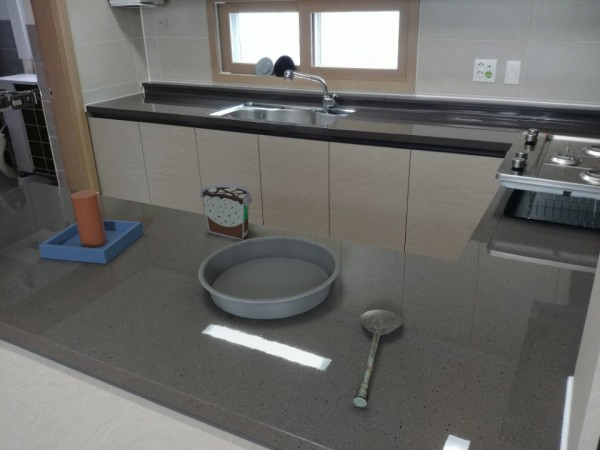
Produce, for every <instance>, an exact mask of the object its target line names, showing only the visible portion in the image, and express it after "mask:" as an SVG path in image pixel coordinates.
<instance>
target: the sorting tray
mask: <svg viewBox="0 0 600 450" xmlns="http://www.w3.org/2000/svg"><path fill="white" fill-rule="evenodd" d="M103 222H104V227H105V232H106V237H107V242H106V243H105V244H104V245H102V246H99V247H95V248H85V247H82V246H81V242H80V237H79V233H78V228H77V223H76V221H75V222H73V223H72V224H70V225H69V226H67V227H66V228H63V230H61V231H59V232H58V233H56V234H55V235H53V236H51V237H49V238H48V239H47V240H45V241H43V242H42V243H40V244H39V245H38V250H39V253H40V256H41V257H40V258H41V259H48V260H49V259H50V260H59V261H60V260H61V261H71V262H80V263H81V262H82V263H94V264H101V265H102V264H103V265H104V264H105V265H106V264H108V263H109V262H111V260H113V259H114V258H116V257H117V255H119V254H120V253H121V252H123V251H124V250H125V249H126V248H127V247H129V246H130V245H131V244H133V243H134V242H135V241H136V240H138V238H141V236H142V235H144V227H143V222H142V221H136V220H135V221H134V220H119V219H104V218H103Z"/></svg>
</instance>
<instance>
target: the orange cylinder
mask: <svg viewBox="0 0 600 450" xmlns="http://www.w3.org/2000/svg"><path fill="white" fill-rule="evenodd" d="M70 199H71V204H72V209H73V214H74V218H75V222H76V223H77V228H78V233H79V237H80V242H81V246H82V247H85V248H95V247H99V246H102V245H104V244H105V243H106V242H107V237H106V232H105V227H104V222H103V219H104V216H103V212H102V211H103V210H102V208H101V201H100V196H99V192H98V190H95V189H83V190H78V191H76V192H73V193H71V195H70Z"/></svg>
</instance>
